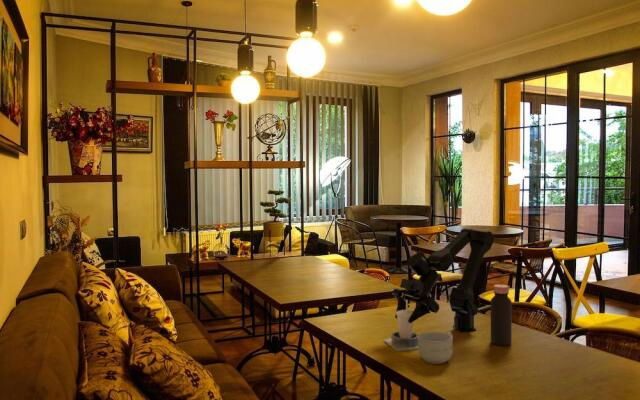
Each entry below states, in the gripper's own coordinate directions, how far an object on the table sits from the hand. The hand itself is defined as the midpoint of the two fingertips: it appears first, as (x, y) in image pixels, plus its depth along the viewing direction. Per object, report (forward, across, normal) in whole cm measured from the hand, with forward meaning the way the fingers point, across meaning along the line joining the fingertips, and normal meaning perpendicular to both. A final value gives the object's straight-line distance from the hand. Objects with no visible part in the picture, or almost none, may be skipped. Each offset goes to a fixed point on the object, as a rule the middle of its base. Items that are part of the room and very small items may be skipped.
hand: (402, 320), depth 171 cm
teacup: (+6, +16, +6) cm, 19 cm away
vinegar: (-14, +18, +27) cm, 35 cm away
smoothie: (+4, 0, +6) cm, 7 cm away
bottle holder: (+6, 0, +7) cm, 9 cm away
